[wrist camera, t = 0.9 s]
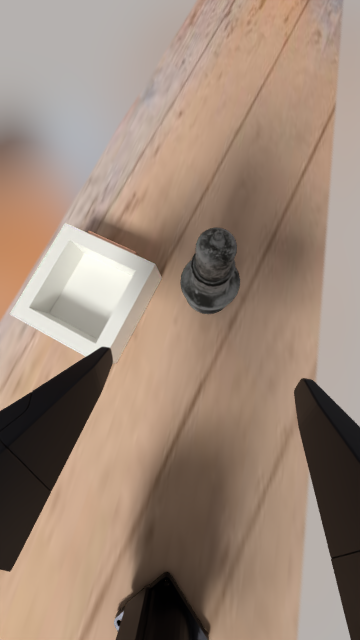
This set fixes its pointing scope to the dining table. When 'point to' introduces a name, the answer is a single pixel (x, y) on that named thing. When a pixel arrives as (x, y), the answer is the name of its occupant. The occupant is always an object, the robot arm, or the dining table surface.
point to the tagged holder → (88, 292)
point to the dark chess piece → (211, 272)
